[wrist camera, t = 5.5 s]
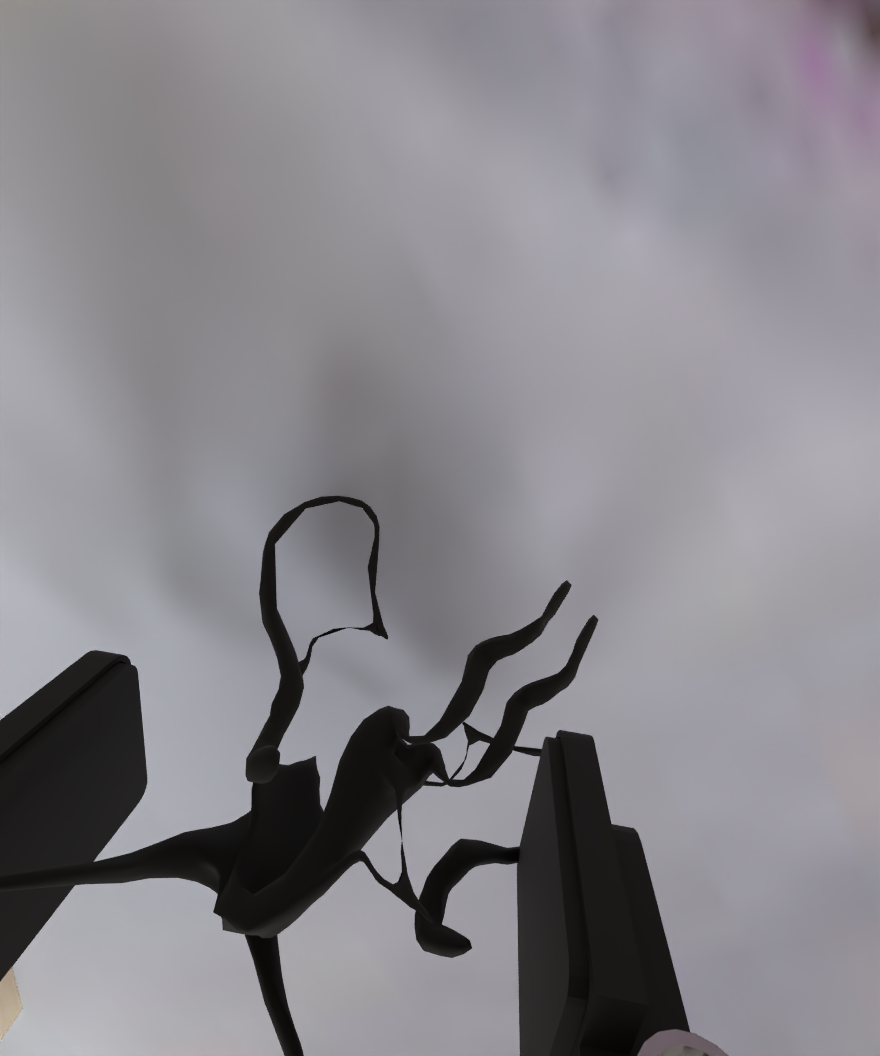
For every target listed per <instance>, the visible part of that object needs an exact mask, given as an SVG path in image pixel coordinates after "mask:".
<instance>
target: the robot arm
mask: <svg viewBox="0 0 880 1056" xmlns="http://www.w3.org/2000/svg"><path fill="white" fill-rule="evenodd" d="M146 785H147V770H146V758H145V747H144V736H143V725H142V713H141V702H140V691H139V680H138V671H137V668H136V667H135V666H133V665H131V662H130V659H129V658H128V657H127V656H125V655H120V654H115V653H109V652H103V651H97V650H94V651H90V652H88V653H86V654H85V655H84V656H82V657H81V658H80V659H79V660H77V661H76V662H75V663H73V664H72V665H71V666H70V667H68V668H67V669H66V670H64V671H63V672H62V673H61V674H59V675H58V676H57V677H55V678H54V679H53V680H52V681H50V682H49V683H48V684H46V685H45V686H44V687H43V688H41V689H40V690H39V691H37V692H36V693H35V694H34V695H32V696H31V697H30V698H28V699H27V700H26V701H25V702H23V703H22V704H21V705H19V706H18V707H17V708H15V709H14V710H13V711H12V712H10V713H9V714H8V715H6V716H5V717H4V718H3V719H1V720H0V876H6V875H13V874H20V873H26V872H32V871H38V870H44V869H50V868H57V867H63V866H69V865H76V864H82V863H89V862H93V861H94V860H95V859H96V857H97V856H98V855H99V853H100V852H101V851H102V850H103V848H104V847H105V846H106V844H107V843H108V842H109V841H110V839H111V838H112V837H113V835H114V834H115V833H116V832H117V830H118V829H119V828H120V826H121V825H122V824H123V822H124V821H125V820H126V819H127V817H128V816H129V815H130V813H131V812H132V811H133V810H134V808H135V807H136V806H137V804H138V803H139V802H140V800H141V799H142V796H143V794H144V792H145V789H146ZM74 886H75V885H69V886H56V887H45V888H34V889H23V890H13V891H0V982H1V980H2V979H3V978H4V976H5V975H6V974H7V972H8V971H9V970H10V969H11V967H12V966H13V965H14V963H15V962H16V961H17V960H18V958H19V957H20V956H21V954H22V953H23V952H24V951H25V949H26V948H27V947H28V945H29V944H30V943H31V941H32V940H33V939H34V938H35V936H36V935H37V934H38V932H39V931H40V930H41V929H42V927H43V926H44V925H45V923H46V922H47V921H48V919H49V918H50V917H51V916H52V914H53V913H54V912H55V910H56V909H57V908H58V907H59V905H60V904H61V903H62V901H63V900H64V899H65V897H66V896H67V895H68V894H69V892H70V891H71V890H72V888H73V887H74ZM517 905H518V966H519V1027H520V1056H728V1055H727V1054H726V1053H725V1052H724V1051H722V1050H721V1049H720V1048H719V1047H718V1046H717V1045H715V1044H713V1043H712V1042H710V1041H708V1040H706V1039H704V1038H702V1037H701V1036H699V1035H697V1034H695V1033H691V1032H690V1029H689V1025H688V1021H687V1017H686V1014H685V1010H684V1006H683V1002H682V998H681V994H680V990H679V987H678V983H677V979H676V975H675V971H674V967H673V963H672V959H671V956H670V952H669V948H668V944H667V940H666V936H665V932H664V928H663V925H662V921H661V917H660V913H659V909H658V905H657V901H656V897H655V894H654V890H653V886H652V882H651V878H650V874H649V870H648V867H647V863H646V859H645V855H644V851H643V847H642V843H641V840H640V838H639V835H638V833H637V832H636V830H635V829H634V828H629V827H624V826H618V825H613V824H611V820H610V815H609V810H608V806H607V801H606V796H605V791H604V786H603V782H602V777H601V772H600V767H599V762H598V758H597V753H596V748H595V743H594V739H593V737H592V736H591V735H586V734H580V733H574V732H568V731H562V730H559V731H558V732H557V735H556V738H551V737H545V739H544V743H543V747H542V752H541V756H540V760H539V765H538V769H537V773H536V778H535V782H534V786H533V791H532V795H531V800H530V804H529V808H528V813H527V817H526V821H525V826H524V830H523V834H522V839H521V843H520V854H519V861H518V863H517Z"/></svg>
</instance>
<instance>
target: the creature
mask: <svg viewBox="0 0 880 1056" xmlns="http://www.w3.org/2000/svg"><path fill="white" fill-rule="evenodd" d="M338 501H341V502H344V503H347V504H351V505H354V506H357V507H361V508H363V510H364V511H365V512H366V514H367V515H368V516H369V518H370V519H371V520H372V522H373V523H374V527H375V538H374V542H373V547H372V551H371V556H370V560H369V565H368V572H369V581H370V590H371V599H372V607H373V623H372V624H370V625H368V626H366V627H364V628H354V629H359V630H368V631H371V632H372V633H374V634H376V635H378V636H382V637H384V638H385V639H388V635H387V632H386V630H385V628H384V626H383V622H382V618H381V614H380V610H379V606H378V602H377V599H376V595H375V586H376V573H377V561H378V548H379V524H378V520H377V516H376V515H375V513H374V512H373V510H372V509H371V508H370V506H368V505H367V504H365V503H364V502H363V501H361V500H357V499H354V498H350V497H343V496H327V497H319V498H316V499H313V500H310V501H307V502H304V503H303V504H301V505H299V506H298V507H296V508H294V509H293V510H291V511H289V512H288V513H286V514H284V515H283V516H282V518H281V519H280V520H279V521H278V522H277V524H276V525H275V526H274V527H273V528H272V530H271V531H270V532H269V535H268V538H267V540H266V543H265V547H264V551H263V558H262V571H261V582H260V590H259V595H260V604H261V613H262V622H263V625H264V627H265V629H266V631H267V633H268V635H269V637H270V640H271V642H272V645H273V648H274V650H275V653H276V656H277V659H278V664H279V669H280V674H281V679H280V684H279V690H278V692H277V694H276V696H275V698H274V700H273V702H272V705H271V711H270V716H269V718H268V720H267V722H266V723H265V725H264V727H263V729H262V731H261V733H260V735H259V737H258V739H257V741H256V743H255V745H254V747H253V749H252V750H251V752H250V753H249V755H248V757H247V758H246V777H247V780H248V781H250V782H253V786H252V808H251V811H250V812H249V813H247V814H245V815H244V816H242V817H240V818H239V819H237V820H236V821H234V822H232V823H229V824H225V825H220V826H216V827H212V828H206V829H200V830H194V831H189V832H184V833H181V834H179V835H176V836H174V837H171V838H169V839H166V840H164V841H161V842H159V843H156V844H153V845H151V846H148V847H145V848H143V849H140V850H138V851H135V852H132V853H129V854H125V855H121V856H117V857H113V858H109V859H105V860H100V861H95V862H89V863H82V864H76V865H69V866H63V867H57V868H50V869H44V870H38V871H32V872H26V873H20V874H13V875H6V876H0V891H13V890H23V889H34V888H45V887H56V886H69V885H81V884H106V883H125V882H130V881H136V880H142V879H148V878H182V879H187V880H191V881H196V882H198V883H201V884H203V885H205V886H207V887H209V888H211V889H212V890H213V891H215V892H216V893H218V896H217V900H216V904H215V908H214V911H213V912H214V913H215V914H217V915H219V916H221V918H222V924H223V930H225V931H230V932H235V933H240V934H245V937H246V940H247V943H248V946H249V949H250V952H251V955H252V958H253V960H254V964H255V968H256V972H257V976H258V979H259V983H260V987H261V991H262V995H263V998H264V1002H265V1005H266V1007H267V1010H268V1012H269V1015H270V1018H271V1020H272V1023H273V1026H274V1028H275V1031H276V1034H277V1036H278V1039H279V1042H280V1044H281V1047H282V1050H283V1052H284V1055H285V1056H304V1055H303V1050H302V1047H301V1044H300V1041H299V1038H298V1035H297V1032H296V1030H295V1027H294V1024H293V1020H292V1017H291V1014H290V1011H289V1007H288V1003H287V998H286V994H285V989H284V984H283V978H282V972H281V964H280V956H279V947H278V938H277V934H279V933H280V932H281V931H283V930H284V929H286V928H287V927H288V926H289V925H291V924H292V923H293V922H294V921H295V920H296V919H297V918H299V917H300V916H301V915H302V914H303V913H304V912H305V911H306V910H307V909H308V907H309V906H310V905H311V904H313V903H314V902H315V901H316V900H317V899H319V898H320V897H321V896H322V895H324V893H325V892H326V891H327V890H328V889H329V888H330V887H331V886H332V885H333V884H334V883H335V882H336V881H337V880H338V879H339V878H340V876H341V875H342V874H343V873H344V872H345V871H346V870H347V869H348V868H350V867H351V866H352V865H353V864H355V863H357V862H359V861H362V862H364V863H365V864H366V866H367V867H368V869H369V870H370V872H371V873H372V874H373V876H374V878H375V879H376V881H378V882H379V883H380V884H381V885H383V886H384V887H386V888H387V889H389V890H390V891H391V892H392V893H393V894H395V895H396V896H397V897H398V898H400V899H401V900H402V901H403V902H405V903H406V904H407V905H408V906H409V907H411V908H413V909H415V910H416V912H415V933H416V940H417V941H418V943H419V944H420V946H421V947H422V949H423V950H424V951H426V952H430V953H433V954H436V955H439V956H445V957H450V958H453V957H456V956H459V955H462V954H464V953H466V952H467V951H469V950H470V949H472V946H471V943H470V940H468V939H467V938H466V937H464V936H463V935H461V934H459V933H458V932H456V931H454V930H452V929H450V928H448V927H446V926H444V925H442V921H443V918H444V913H445V907H446V902H447V898H448V894H449V892H450V891H451V889H452V888H453V887H454V886H455V885H456V884H457V883H458V882H459V881H460V880H461V879H462V878H463V877H464V876H465V875H466V874H467V872H468V871H469V870H471V869H472V868H474V867H476V866H479V865H485V864H492V863H499V864H507V865H508V864H513V863H518V861H519V854H520V847H512V848H505V847H501V846H498V845H494V844H491V843H487V842H484V841H479V840H469V839H460V840H458V841H457V842H456V843H455V844H453V845H452V846H451V848H450V849H449V850H448V851H447V853H446V854H445V855H444V856H443V857H442V858H441V859H440V860H439V862H438V863H437V864H436V865H435V866H434V868H433V869H432V871H431V872H430V874H429V875H428V877H427V879H426V882H425V885H424V888H423V890H422V893H421V895H420V898H419V900H418V899H417V897H416V896H415V894H414V892H413V889H412V886H411V883H410V880H409V877H408V873H407V867H406V862H405V856H404V850H403V844H401V860H402V873H401V876H400V878H399V881H398V882H397V883H395V884H391V883H390V882H388V881H386V880H384V879H383V878H382V877H381V876H380V875H379V874H378V873H377V871H376V870H375V868H374V867H373V865H372V864H371V862H370V860H369V858H368V857H367V855H366V854H365V852H363V851H361V849H362V847H363V846H364V845H365V844H366V843H367V841H368V840H369V839H370V838H371V837H372V835H373V834H374V833H375V832H376V831H377V830H378V828H379V827H380V826H381V825H382V824H383V823H384V821H385V820H386V819H387V818H388V817H389V816H390V815H391V814H392V813H393V812H395V811H396V810H397V812H398V820H399V826H400V832H401V838H402V825H401V811H402V804H403V803H405V802H406V801H407V800H408V799H409V798H410V797H411V796H412V795H413V794H415V793H416V792H417V791H418V790H419V789H420V788H421V787H422V786H423V785H425V786H441V787H442V786H444V785H449V786H451V787H462V786H467V785H471V784H473V783H476V782H479V781H482V780H485V779H488V778H491V777H492V776H493V775H494V773H495V772H496V771H497V770H498V769H499V767H500V766H501V765H502V764H503V763H504V761H505V760H506V759H507V758H508V757H509V755H510V754H511V753H512V750H514V751H517V752H521V753H525V754H528V755H532V756H541V752H542V749H537V748H527V747H518V746H515V743H516V741H517V738H518V736H519V734H520V731H521V729H522V726H523V724H524V721H525V718H526V716H527V713H528V711H529V710H530V709H532V708H534V707H536V706H539V705H542V704H544V703H545V702H547V701H549V700H550V699H551V698H553V697H554V696H555V695H556V694H557V693H559V692H560V691H562V690H563V689H565V688H567V687H568V686H569V684H570V683H571V682H572V681H573V679H574V678H575V676H576V673H577V670H578V667H579V664H580V661H581V659H582V657H583V655H584V652H585V650H586V648H587V646H588V643H589V641H590V639H591V637H592V634H593V632H594V630H595V627H596V625H597V622H598V619H597V618H596V616H595V615H593V616H592V617H591V618H590V619H589V620H588V622H587V623H586V625H585V626H584V628H583V629H582V631H581V633H580V635H579V636H578V638H577V640H576V643H575V646H574V649H573V652H572V654H571V656H570V658H569V660H568V662H567V664H566V666H565V667H564V668H563V669H562V670H561V671H560V672H559V673H558V674H555V675H552V676H550V677H547V678H544V679H541V680H538V681H535V682H532V683H530V684H527V685H525V686H523V687H522V688H520V689H519V690H518V691H516V692H515V693H514V694H513V695H512V697H511V698H510V699H509V700H508V702H507V703H506V707H505V711H504V715H503V719H502V723H501V726H500V728H499V730H498V731H497V733H496V735H495V737H494V738H492V737H490V736H488V735H486V734H483V733H481V732H479V731H477V730H476V729H474V728H473V727H471V726H470V725H468V724H466V723H465V722H463V721H464V720H465V719H466V718H468V717H469V716H470V714H471V712H472V710H473V708H474V706H475V704H476V703H477V701H478V699H479V697H480V695H481V693H482V691H483V689H484V685H485V682H486V679H487V675H488V672H489V670H490V669H491V668H492V666H493V665H494V664H495V663H496V662H497V661H498V660H500V659H502V658H504V657H507V656H510V655H513V654H515V653H517V652H518V651H520V650H522V649H523V648H525V647H526V646H528V645H529V644H530V643H532V642H533V641H534V640H535V639H537V638H538V637H539V636H540V635H541V634H542V632H543V630H544V628H545V627H546V625H547V623H548V621H549V620H550V619H551V618H552V617H553V616H554V615H555V613H556V612H557V610H558V608H559V607H560V605H561V603H562V602H563V600H564V599H565V597H566V595H567V594H568V592H569V590H570V588H571V584H570V583H569V582H568V581H567V580H566V581H565V582H564V583H562V584H561V586H560V587H559V588H558V589H557V591H556V592H555V593H554V595H553V596H552V598H551V600H550V602H549V603H548V605H547V607H546V609H545V611H544V613H543V615H542V616H541V617H540V618H538V619H537V620H535V621H534V622H532V623H531V624H529V625H527V626H526V627H524V628H522V629H520V630H518V631H516V632H514V633H512V634H508V635H503V636H497V637H494V638H490V639H487V640H485V641H483V642H481V643H479V644H478V645H476V646H475V647H474V648H473V650H472V651H471V652H470V654H469V655H468V658H467V662H466V666H465V670H464V674H463V678H462V682H461V684H460V686H459V687H458V689H457V691H456V693H455V695H454V696H453V698H452V700H451V702H450V703H449V705H448V707H447V709H446V711H445V712H444V714H443V716H442V718H441V720H440V721H439V722H438V723H437V724H436V725H435V726H434V727H433V728H432V729H431V730H430V731H429V732H428V733H427V734H426V735H425V736H409V729H410V723H409V716H408V715H407V714H406V713H405V711H404V710H402V709H397V708H393V707H391V706H386V707H384V708H381V709H379V710H377V711H376V712H374V713H373V714H372V715H370V716H369V717H367V718H365V719H364V720H363V721H362V723H361V724H360V725H359V727H358V728H357V729H356V731H355V732H354V733H353V735H352V736H351V738H350V740H349V742H348V744H347V746H346V748H345V750H344V752H343V755H342V757H341V759H340V761H339V765H338V769H337V772H336V776H335V780H334V783H333V787H332V791H331V794H330V797H329V799H328V802H327V805H326V808H325V810H324V811H323V809H322V807H321V805H320V793H319V787H320V776H319V773H318V770H317V765H316V756H314V757H312V758H310V759H307V760H304V761H299V762H296V763H293V764H291V765H282V764H279V761H280V752H279V751H278V750H277V749H278V747H279V744H280V742H281V740H282V738H283V735H284V733H285V732H286V730H287V728H288V726H289V724H290V722H291V721H292V719H293V717H294V715H295V713H296V711H297V709H298V707H299V704H300V700H301V697H302V693H303V689H304V683H303V677H302V676H303V674H304V672H305V670H306V669H307V667H308V664H309V662H310V657H311V652H312V646H313V645H314V644H315V642H316V641H317V640H318V638H319V637H322V636H325V635H328V634H331V633H334V632H337V631H340V630H342V629H345V628H338V629H332V630H330V631H328V632H326V633H324V634H321V635H319V636H317V637H315V638H313V639H312V641H311V643H310V645H309V648H308V652H307V655H306V658H305V659H304V660H302V661H300V662H298V659H297V656H296V652H295V649H294V647H293V645H292V642H291V640H290V637H289V635H288V633H287V630H286V628H285V626H284V623H283V621H282V619H281V617H280V614H279V612H278V610H277V600H276V566H275V543H276V542H277V541H278V540H279V539H280V538H281V536H282V535H283V534H284V533H285V532H286V531H287V530H288V528H289V527H290V526H291V525H292V524H293V523H294V521H295V520H296V519H297V518H298V517H299V516H300V515H301V513H302V512H303V511H304V510H305V509H306V508H310V507H315V506H320V505H324V504H329V503H333V502H338ZM348 628H352V627H348ZM462 722H463V723H462ZM461 723H462V724H463V725H464V729H465V733H466V736H467V739H468V745H467V752H468V748H469V745H471V744H473V743H475V742H477V741H479V740H480V741H483V742H487V743H490V745H489V747H488V749H487V750H486V752H485V754H484V755H483V757H482V759H481V761H480V762H479V764H478V766H477V767H476V769H475V770H474V771H473V772H472V773H471V774H470V775H469V776H467V777H466V778H465V779H464V780H453V778H454V777H455V776H456V775H457V774H458V773H459V771H460V770H461V769H462V767H463V764H464V762H465V760H466V757H467V753H466V757H465V760H464V762H463V763H462V764H461V766H460V767H459V768H458V769H457V771H456V772H455V773H454V774H453V776H452V777H451V778H450V779H449V778H448V775H447V772H446V770H445V764H444V761H443V758H442V754H441V751H440V749H439V748H438V747H437V746H436V745H435V744H433V743H431V742H434V741H437V740H440V739H443V738H446V737H447V736H448V735H449V734H450V733H451V732H452V731H453V730H455V729H456V728H457V727H458V726H459V725H460V724H461ZM403 739H404V740H405V741H407V742H409V743H411V745H407V743H406V742H405V741H404V740H403ZM432 773H434V774H435V775H436V776H437V777H438V778H439V779H441V780H442V781H444V782H443V783H439V782H429V781H426V780H427V778H428V777H429V776H430V775H431V774H432Z"/></svg>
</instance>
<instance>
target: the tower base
mask: <svg viewBox="0 0 880 1056" xmlns="http://www.w3.org/2000/svg"><path fill="white" fill-rule="evenodd" d="M22 1009H23V1007H22V1003H21V999H20V996H19V992H18V988H17V984H16V980H15V976H14V973H13V969H12V967H11V969H10V970H9V971H8V972H7V974H6V975H5V976H4V978H3V979H2V980H1V982H0V1041H1V1040H2V1038H3V1037H4V1035H5V1034H6V1032H7V1031H8V1030H9V1028H10V1027H11V1025H12V1024H13V1022H14V1021H15V1019H16V1018H17V1016H18V1015H19V1014H20V1012H21V1011H22Z"/></svg>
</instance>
